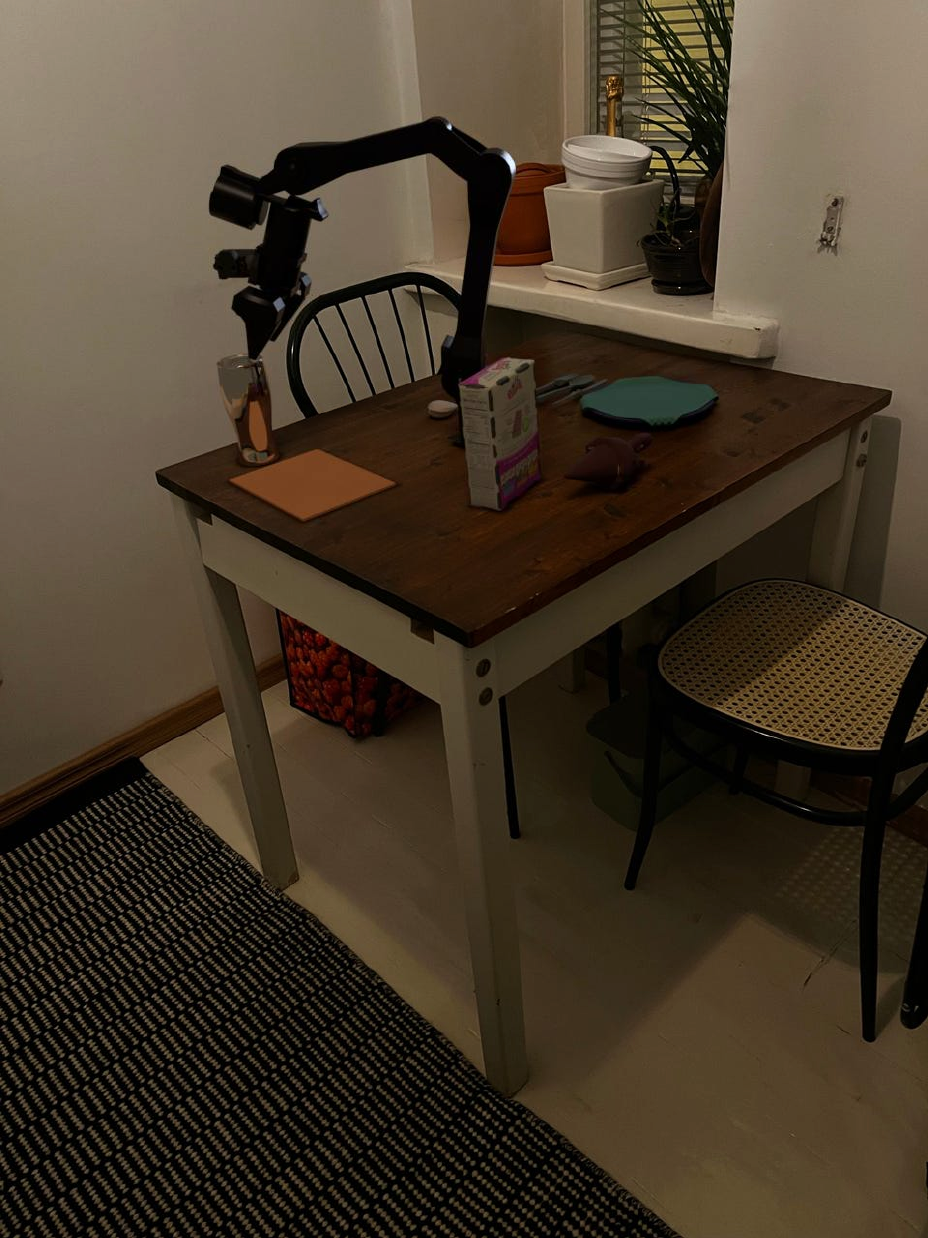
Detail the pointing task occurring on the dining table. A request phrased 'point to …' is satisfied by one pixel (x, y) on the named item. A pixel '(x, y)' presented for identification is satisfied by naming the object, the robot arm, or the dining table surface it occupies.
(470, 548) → the dining table surface
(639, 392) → the cutlery set
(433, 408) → the grey rounded piece
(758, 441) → the dining table surface
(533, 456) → the candy bar box
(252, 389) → the beer glass
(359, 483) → the cloth
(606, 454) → the icecream
